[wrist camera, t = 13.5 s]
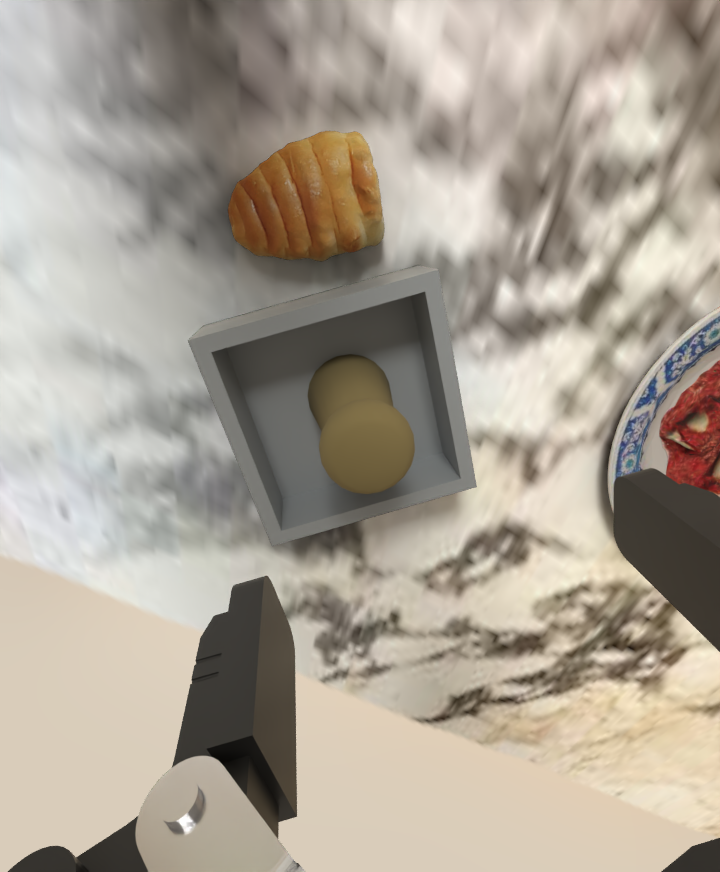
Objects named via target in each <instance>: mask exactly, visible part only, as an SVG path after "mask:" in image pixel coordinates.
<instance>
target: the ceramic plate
mask: <svg viewBox="0 0 720 872" xmlns="http://www.w3.org/2000/svg"><path fill="white" fill-rule="evenodd" d="M648 468H654V469H657V470H659V471H660V472H662V473H663V474H665V475H666V476H668V477H669V478H671V479H672V480H674V481H675V482H677V483H678V484H682V483H687V484H690V485H692V486H695V487H698V488H701V489H704V490H707V491H710V492H713V493H715V494H716V495H718V496H719V497H720V307H718V308H717V309H715V310H714V311H712V312H711V313H709V314H708V315H706V316H705V317H703V318H702V319H701V320H699V321H698V322H697V323H696V324H694V325H693V326H692V327H690V328H689V329H688V330H687V331H686V332H685V333H684V334H683V335H681V336H680V337H679V338H678V339H677V340H676V341H675V342H674V343H673V344H672V345H671V346H669V347H668V349H667V350H666V351H665V352H664V353H663V354H662V356H661V357H660V358H659V359H658V360H657V361H656V363H655V364H654V365H653V366H652V367H651V368H650V370H649V371H648V373H647V374H646V375H645V377H644V378H643V380H642V381H641V382H640V384H639V385H638V387H637V389H636V390H635V392H634V394H633V395H632V397H631V399H630V401H629V403H628V405H627V406H626V408H625V410H624V412H623V415H622V417H621V420H620V422H619V424H618V427H617V430H616V433H615V436H614V439H613V443H612V447H611V452H610V456H609V464H608V493H609V499H610V504H611V508H612V511H613V514H614V481H615V479H616V478H618V477H620V476H624V475H627V474H631V473H634V472H638V471H641V470H645V469H648Z"/></svg>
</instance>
